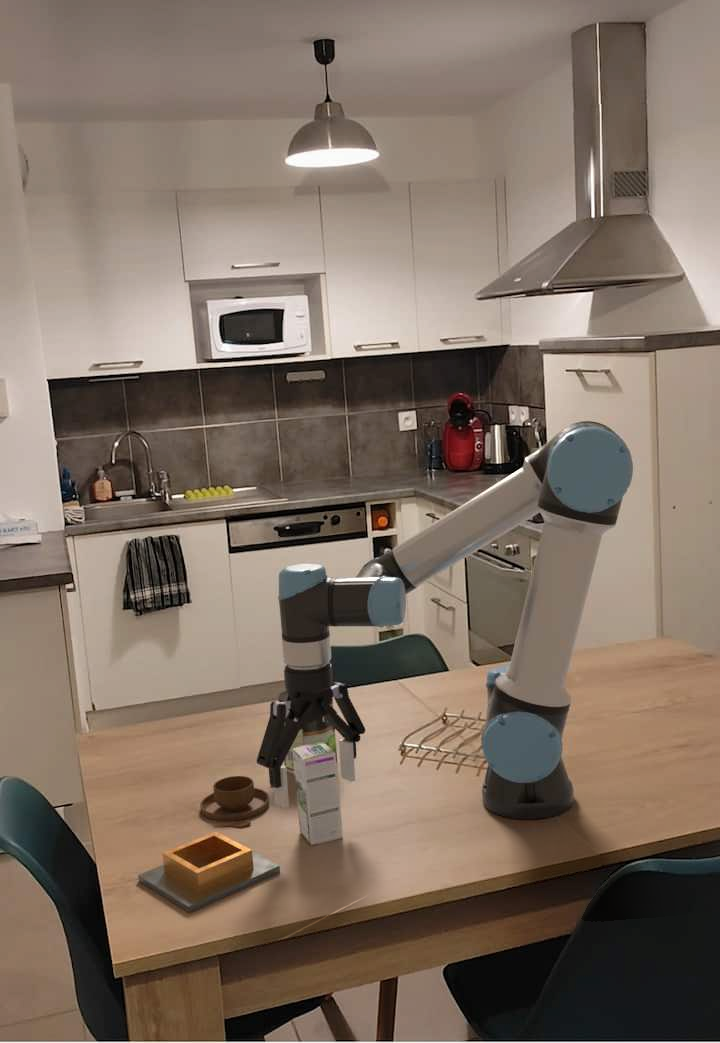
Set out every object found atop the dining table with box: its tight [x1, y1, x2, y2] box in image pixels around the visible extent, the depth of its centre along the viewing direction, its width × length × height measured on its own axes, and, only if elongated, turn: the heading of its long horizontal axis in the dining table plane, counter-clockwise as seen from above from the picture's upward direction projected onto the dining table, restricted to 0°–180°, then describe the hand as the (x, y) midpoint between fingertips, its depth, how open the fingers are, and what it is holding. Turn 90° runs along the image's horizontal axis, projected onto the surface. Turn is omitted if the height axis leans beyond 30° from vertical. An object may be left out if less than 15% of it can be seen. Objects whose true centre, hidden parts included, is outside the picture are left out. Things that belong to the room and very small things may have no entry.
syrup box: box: [292, 742, 344, 846], centre depth 170 cm, size 6×6×14 cm
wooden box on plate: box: [137, 831, 281, 914], centre depth 159 cm, size 14×16×4 cm
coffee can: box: [277, 689, 339, 775], centre depth 200 cm, size 10×10×14 cm
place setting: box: [200, 775, 273, 829], centre depth 184 cm, size 18×20×6 cm
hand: (315, 792), depth 170 cm, fingers open, 13 cm apart
